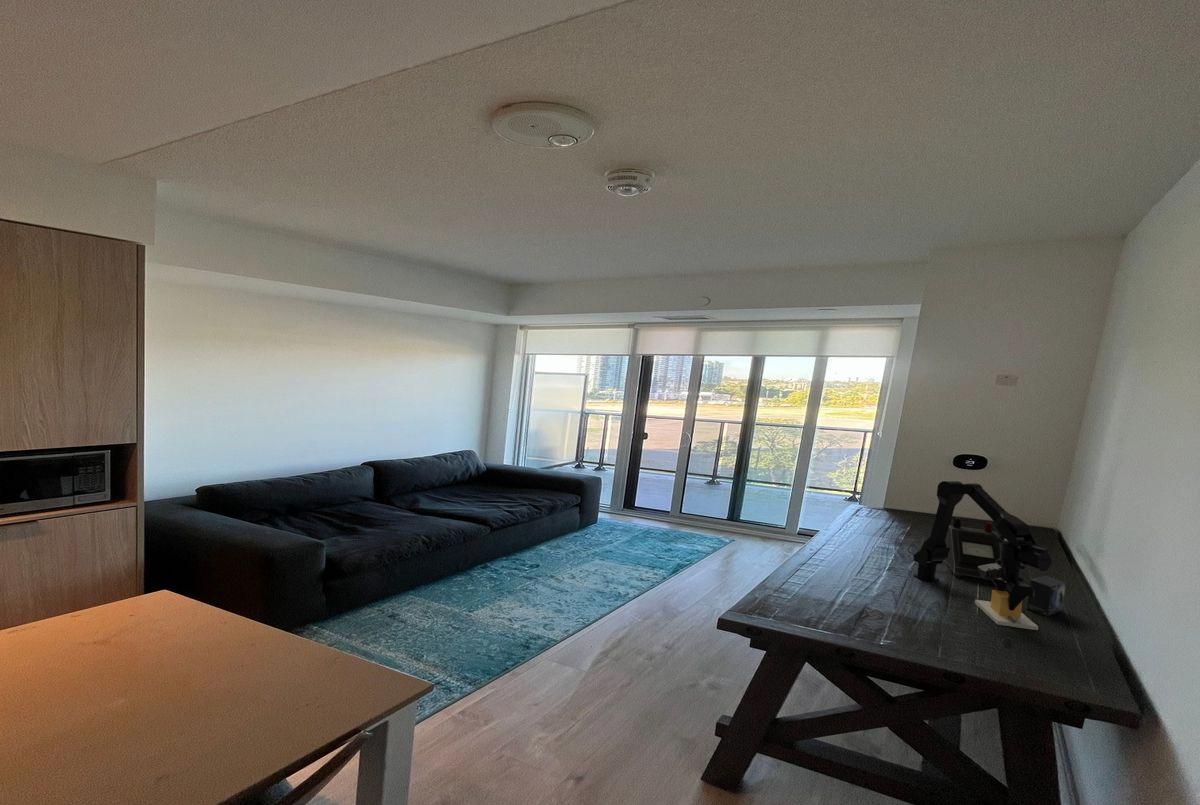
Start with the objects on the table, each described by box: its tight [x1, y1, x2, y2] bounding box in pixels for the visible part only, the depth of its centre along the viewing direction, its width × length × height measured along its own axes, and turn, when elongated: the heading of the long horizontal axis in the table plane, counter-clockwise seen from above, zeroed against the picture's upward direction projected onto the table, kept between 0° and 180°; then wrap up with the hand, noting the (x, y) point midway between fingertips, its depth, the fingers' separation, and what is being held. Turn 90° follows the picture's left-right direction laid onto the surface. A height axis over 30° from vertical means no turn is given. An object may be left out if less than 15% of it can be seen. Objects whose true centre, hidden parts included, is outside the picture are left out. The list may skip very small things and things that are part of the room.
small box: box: [1025, 575, 1067, 617], centre depth 181 cm, size 11×6×10 cm, turn 118°
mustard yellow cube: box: [990, 589, 1024, 618], centre depth 175 cm, size 6×6×6 cm
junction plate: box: [974, 599, 1039, 631], centre depth 175 cm, size 16×11×5 cm, turn 166°
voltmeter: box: [944, 517, 1001, 579], centre depth 212 cm, size 16×16×20 cm
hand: (1005, 605), depth 175 cm, fingers open, 7 cm apart
